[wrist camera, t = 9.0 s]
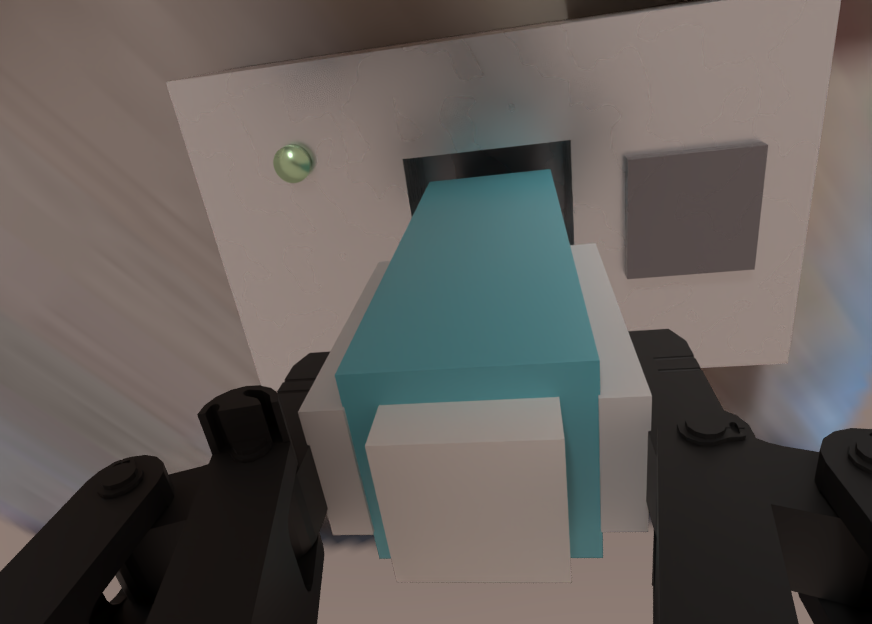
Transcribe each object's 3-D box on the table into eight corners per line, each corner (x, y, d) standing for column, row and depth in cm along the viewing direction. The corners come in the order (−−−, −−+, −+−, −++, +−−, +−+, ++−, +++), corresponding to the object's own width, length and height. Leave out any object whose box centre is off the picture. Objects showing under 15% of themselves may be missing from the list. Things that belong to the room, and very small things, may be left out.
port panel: (301, 332, 29) (258, 398, 24) (230, 68, 23) (157, 83, 19) (739, 302, 26) (793, 370, 21) (770, -11, 20) (853, -18, 15)
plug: (444, 290, 22) (368, 607, 10) (429, 181, 20) (315, 413, 8) (555, 281, 21) (611, 609, 9) (550, 168, 19) (610, 400, 8)
